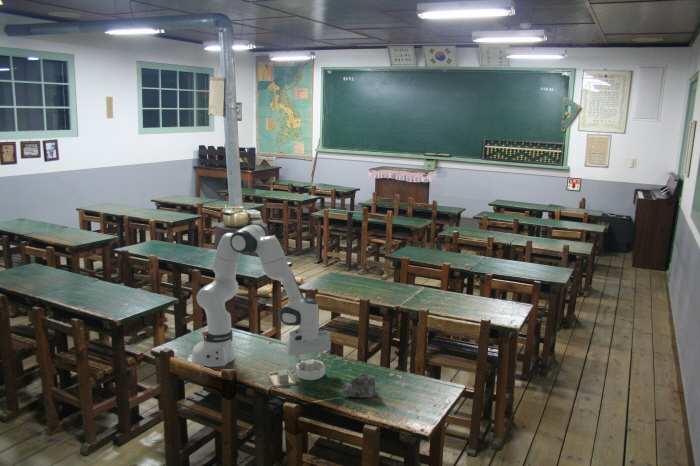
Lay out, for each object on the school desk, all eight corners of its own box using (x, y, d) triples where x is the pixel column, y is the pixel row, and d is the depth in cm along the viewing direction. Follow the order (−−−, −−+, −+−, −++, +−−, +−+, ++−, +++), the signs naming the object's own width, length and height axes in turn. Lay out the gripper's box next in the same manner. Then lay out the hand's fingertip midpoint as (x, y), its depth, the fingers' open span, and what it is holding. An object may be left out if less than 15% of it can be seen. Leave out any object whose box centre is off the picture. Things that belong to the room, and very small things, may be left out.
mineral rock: (341, 397, 232) (341, 375, 230) (351, 386, 241) (351, 365, 239) (369, 404, 227) (370, 381, 225) (378, 392, 236) (379, 370, 234)
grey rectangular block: (279, 385, 240) (279, 375, 239) (277, 381, 244) (277, 371, 243) (288, 383, 241) (288, 374, 240) (286, 379, 245) (286, 370, 244)
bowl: (301, 383, 243) (301, 373, 243) (293, 371, 255) (293, 362, 254) (327, 378, 248) (327, 369, 247) (319, 367, 259) (319, 358, 258)
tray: (273, 388, 238) (273, 385, 237) (267, 376, 249) (266, 372, 249) (296, 385, 241) (296, 381, 241) (288, 372, 253) (288, 369, 253)
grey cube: (306, 373, 251) (306, 364, 250) (303, 369, 254) (303, 361, 254) (314, 372, 252) (314, 363, 251) (311, 368, 256) (311, 359, 255)
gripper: (328, 327, 256) (328, 355, 259) (285, 333, 249) (285, 361, 252) (332, 332, 251) (332, 360, 253) (289, 338, 243) (289, 367, 246)
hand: (308, 361), depth 252 cm, fingers open, 8 cm apart
